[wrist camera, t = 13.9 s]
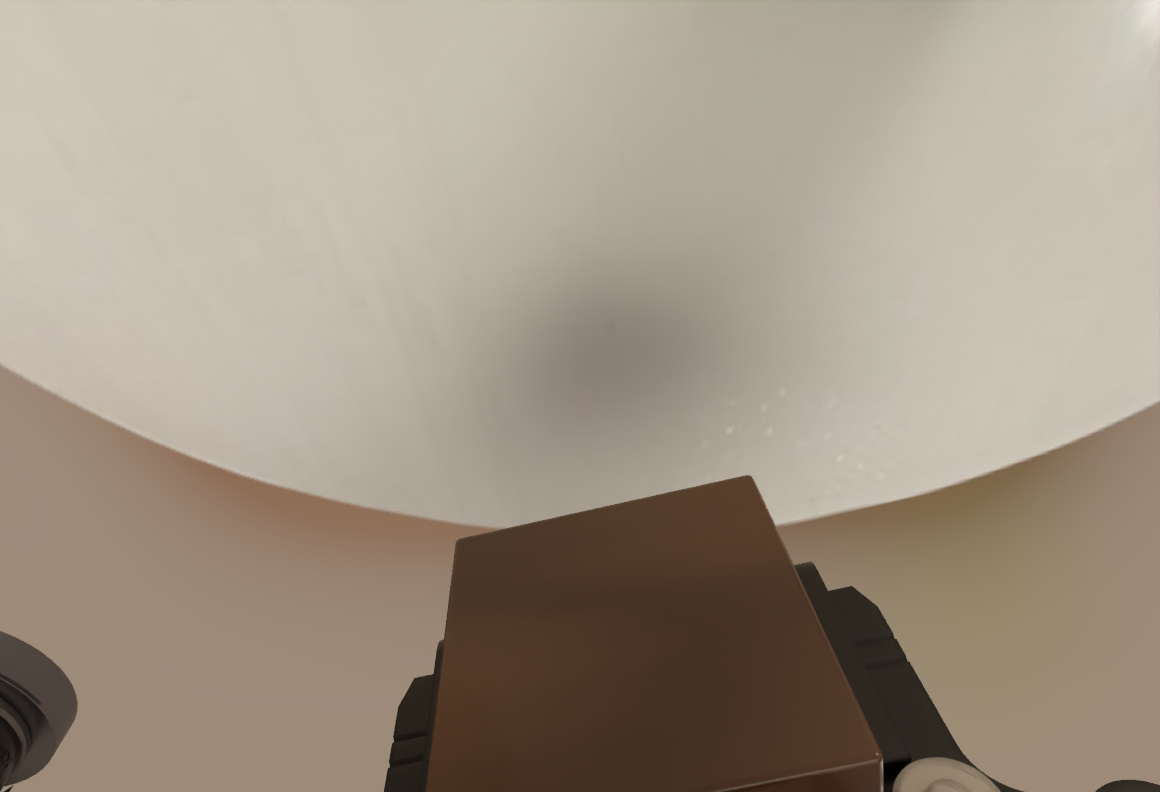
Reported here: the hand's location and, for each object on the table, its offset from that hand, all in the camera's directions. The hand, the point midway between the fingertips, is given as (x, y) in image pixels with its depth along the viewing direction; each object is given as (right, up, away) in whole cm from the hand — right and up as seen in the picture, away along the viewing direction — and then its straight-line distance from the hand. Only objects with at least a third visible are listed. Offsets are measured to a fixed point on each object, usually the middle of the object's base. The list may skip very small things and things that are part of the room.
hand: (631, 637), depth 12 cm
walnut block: (0, 0, +1) cm, 1 cm away
